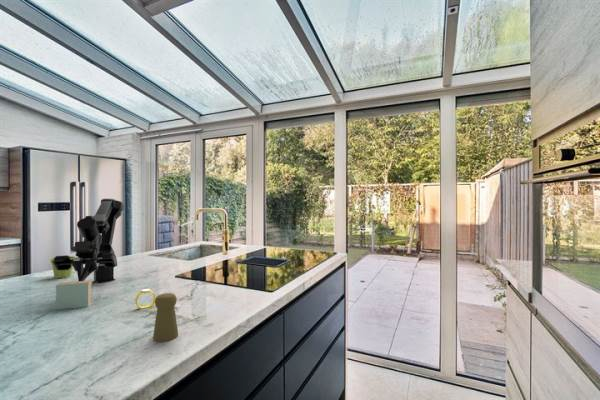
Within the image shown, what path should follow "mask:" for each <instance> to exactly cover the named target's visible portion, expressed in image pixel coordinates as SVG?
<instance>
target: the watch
mask: <svg viewBox="0 0 600 400" xmlns="http://www.w3.org/2000/svg"><path fill="white" fill-rule="evenodd" d="M149 293H150V294H152V295H153V300H152V302H151V303H150V304H149V305H144V306H141V305H139V304H138V299H139V297H140V296H141V295H143V294H149ZM156 297H157V296H156V294H155V293H154V291H152V290H151V289H150V288H144V289H141V290H140V292H139V293H137V294H136V297H135V298H134V303H135V305H136V307H137V309H141V310H143V309H148V308H149V309H150V308H152V306H153V305H154V306H155V299H156Z"/></svg>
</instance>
